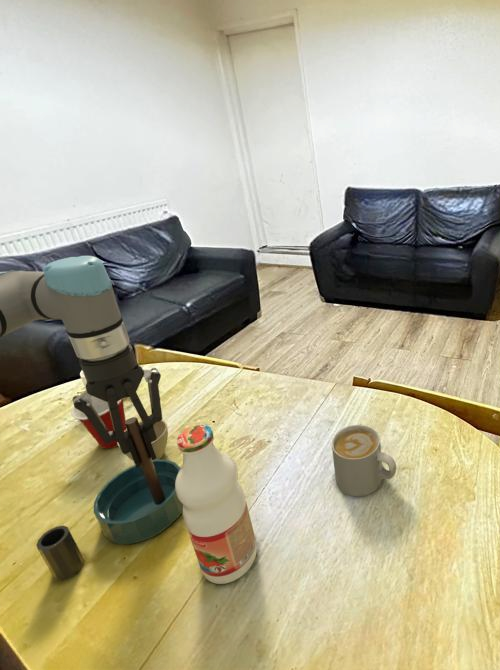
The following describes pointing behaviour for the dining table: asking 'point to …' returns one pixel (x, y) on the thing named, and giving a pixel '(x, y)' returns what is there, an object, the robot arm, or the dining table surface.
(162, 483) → the bowl
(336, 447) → the coffee mug
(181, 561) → the dining table surface
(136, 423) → the stick
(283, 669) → the dining table surface
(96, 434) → the plastic cup
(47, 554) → the utensil pot
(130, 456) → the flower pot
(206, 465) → the fruit juice
